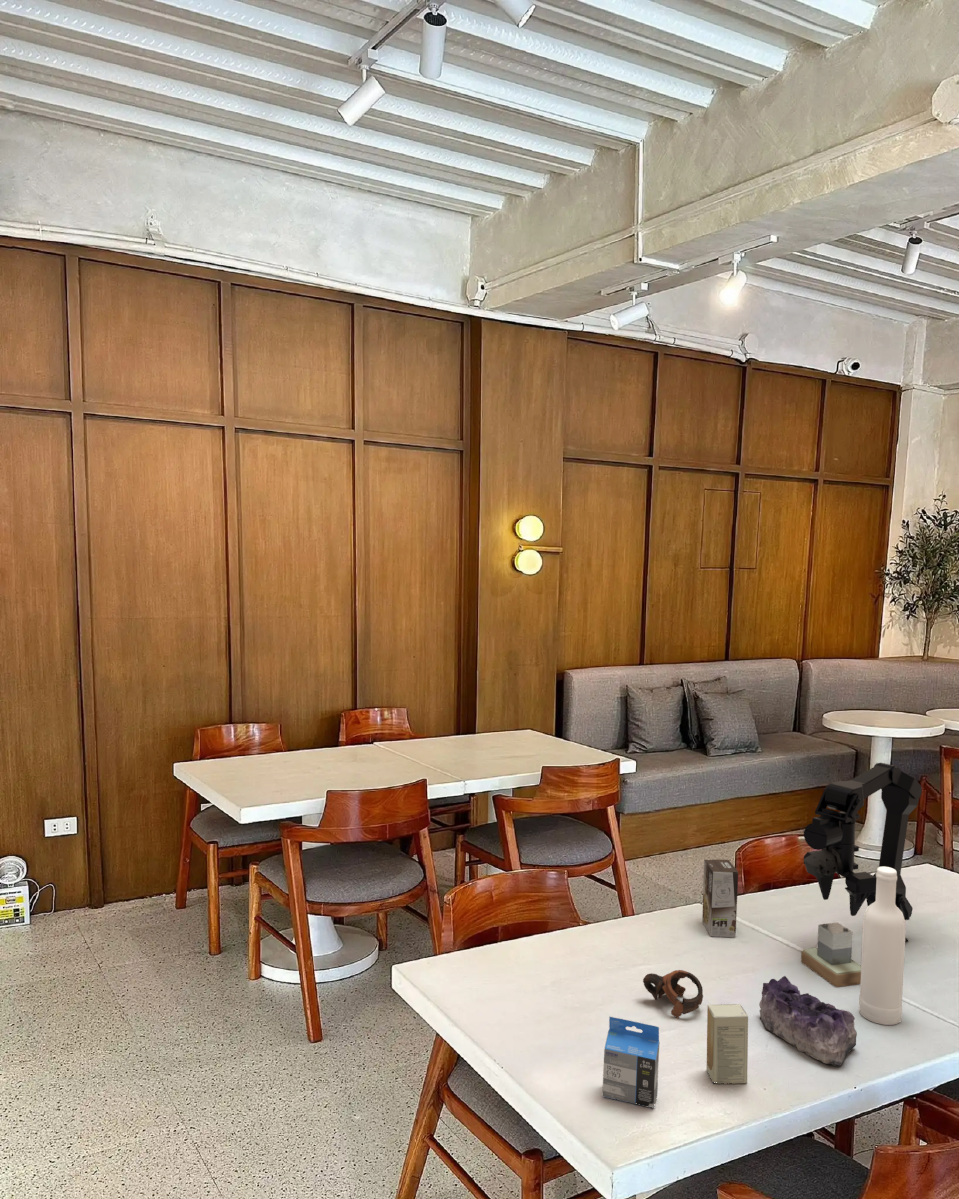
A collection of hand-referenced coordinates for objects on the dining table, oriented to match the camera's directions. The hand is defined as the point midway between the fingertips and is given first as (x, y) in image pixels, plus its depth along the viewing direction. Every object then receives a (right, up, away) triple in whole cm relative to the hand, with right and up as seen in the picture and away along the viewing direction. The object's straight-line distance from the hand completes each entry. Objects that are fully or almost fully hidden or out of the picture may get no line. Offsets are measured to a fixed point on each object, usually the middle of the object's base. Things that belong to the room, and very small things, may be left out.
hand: (839, 907), depth 201 cm
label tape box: (-56, -14, -52) cm, 78 cm away
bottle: (-1, -14, -23) cm, 27 cm away
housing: (-3, -10, -5) cm, 11 cm away
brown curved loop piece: (-43, -13, -21) cm, 49 cm away
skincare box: (-38, -14, -45) cm, 61 cm away
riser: (-3, -13, -5) cm, 14 cm away
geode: (-20, -14, -32) cm, 41 cm away
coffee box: (-23, -11, +16) cm, 30 cm away
